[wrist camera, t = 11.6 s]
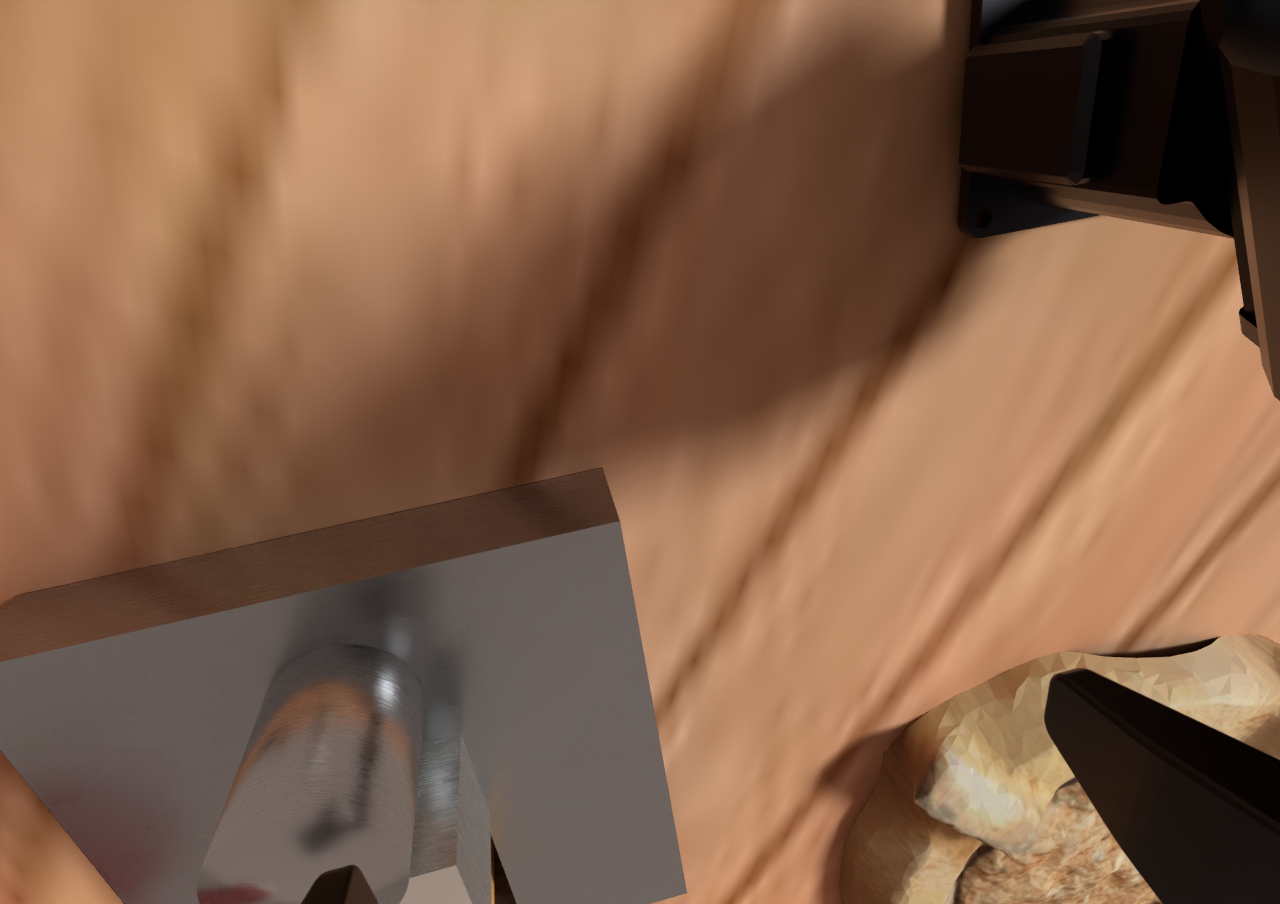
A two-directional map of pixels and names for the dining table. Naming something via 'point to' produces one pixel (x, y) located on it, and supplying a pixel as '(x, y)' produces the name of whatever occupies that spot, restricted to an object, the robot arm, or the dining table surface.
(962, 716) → the ashtray
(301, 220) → the dining table surface
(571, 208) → the dining table surface
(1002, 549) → the dining table surface
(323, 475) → the dining table surface
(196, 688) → the grey slotted base plate
